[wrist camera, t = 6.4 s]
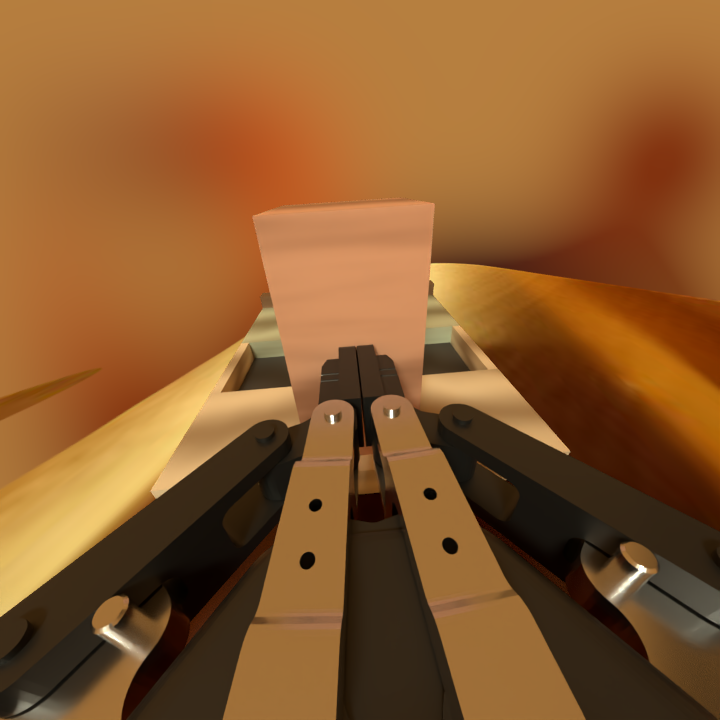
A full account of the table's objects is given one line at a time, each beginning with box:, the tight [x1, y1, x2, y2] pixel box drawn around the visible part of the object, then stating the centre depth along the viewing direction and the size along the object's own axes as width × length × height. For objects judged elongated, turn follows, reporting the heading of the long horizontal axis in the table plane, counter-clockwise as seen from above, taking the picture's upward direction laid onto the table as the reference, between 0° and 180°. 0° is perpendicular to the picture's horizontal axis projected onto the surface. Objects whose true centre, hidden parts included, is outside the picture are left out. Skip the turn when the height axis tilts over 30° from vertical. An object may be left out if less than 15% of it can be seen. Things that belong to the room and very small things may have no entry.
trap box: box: [151, 280, 570, 499], centre depth 26 cm, size 27×22×4 cm
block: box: [253, 198, 435, 455], centre depth 15 cm, size 6×6×12 cm
